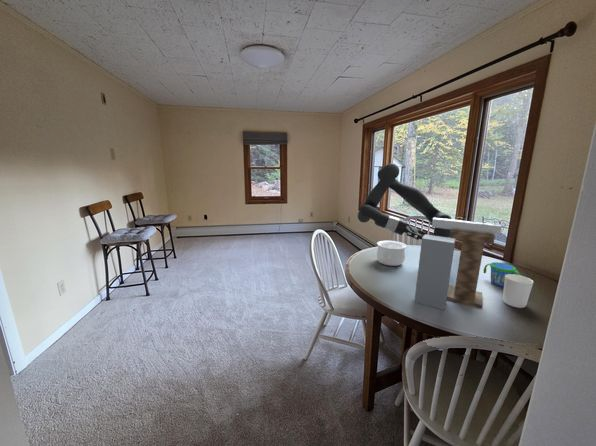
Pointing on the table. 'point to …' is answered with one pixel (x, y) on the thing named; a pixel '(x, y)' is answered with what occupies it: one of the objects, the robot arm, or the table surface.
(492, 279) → the snack cup
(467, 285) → the walnut pedestal
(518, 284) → the candle holder
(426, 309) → the table surface
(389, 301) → the table surface
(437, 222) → the aluminium bar
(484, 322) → the table surface
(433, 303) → the slate plinth
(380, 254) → the pot
